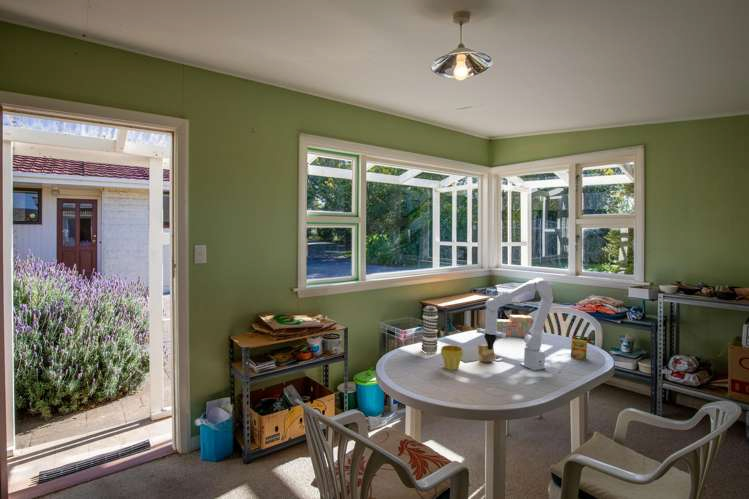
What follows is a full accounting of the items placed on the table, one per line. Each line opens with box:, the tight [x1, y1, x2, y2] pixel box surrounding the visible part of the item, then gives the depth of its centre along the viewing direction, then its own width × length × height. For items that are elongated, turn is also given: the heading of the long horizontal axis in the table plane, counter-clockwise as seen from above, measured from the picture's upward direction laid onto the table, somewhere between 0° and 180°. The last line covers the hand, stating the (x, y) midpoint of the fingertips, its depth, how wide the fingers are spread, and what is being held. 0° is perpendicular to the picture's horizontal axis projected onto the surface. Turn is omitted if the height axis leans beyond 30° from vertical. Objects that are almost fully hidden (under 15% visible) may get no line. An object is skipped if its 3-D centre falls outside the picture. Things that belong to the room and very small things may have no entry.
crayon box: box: [570, 334, 588, 361], centre depth 221 cm, size 7×3×12 cm, turn 62°
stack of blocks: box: [497, 314, 533, 338], centre depth 262 cm, size 21×6×12 cm, turn 86°
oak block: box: [477, 343, 496, 363], centre depth 215 cm, size 5×6×8 cm
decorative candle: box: [421, 305, 440, 354], centre depth 228 cm, size 9×9×25 cm
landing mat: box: [460, 345, 500, 364], centre depth 226 cm, size 18×22×1 cm
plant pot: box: [440, 344, 463, 371], centre depth 206 cm, size 10×10×10 cm
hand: (490, 349), depth 212 cm, fingers closed
